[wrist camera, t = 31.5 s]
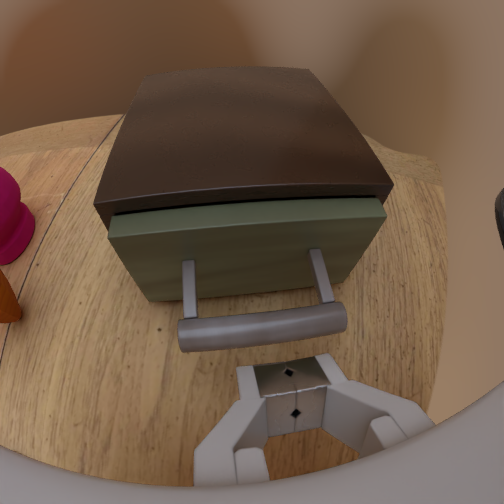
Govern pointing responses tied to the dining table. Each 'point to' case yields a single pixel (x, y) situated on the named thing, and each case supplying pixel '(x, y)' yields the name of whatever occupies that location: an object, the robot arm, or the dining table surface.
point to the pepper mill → (13, 220)
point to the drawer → (248, 262)
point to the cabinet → (235, 142)
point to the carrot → (8, 302)
